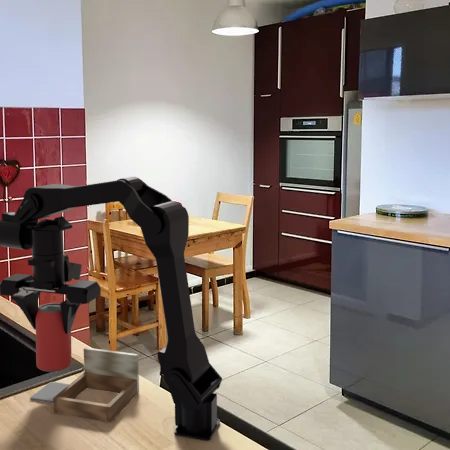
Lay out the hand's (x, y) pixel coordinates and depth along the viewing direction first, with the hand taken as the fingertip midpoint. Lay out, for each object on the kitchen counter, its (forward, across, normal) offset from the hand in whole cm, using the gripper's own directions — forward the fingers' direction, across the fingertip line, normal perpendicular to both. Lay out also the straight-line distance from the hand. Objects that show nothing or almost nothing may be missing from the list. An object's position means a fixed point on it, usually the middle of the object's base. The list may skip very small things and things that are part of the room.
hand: (52, 330), depth 111 cm
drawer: (+13, -10, +1) cm, 16 cm away
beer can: (+8, 0, 0) cm, 8 cm away
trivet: (+13, 0, 0) cm, 13 cm away
